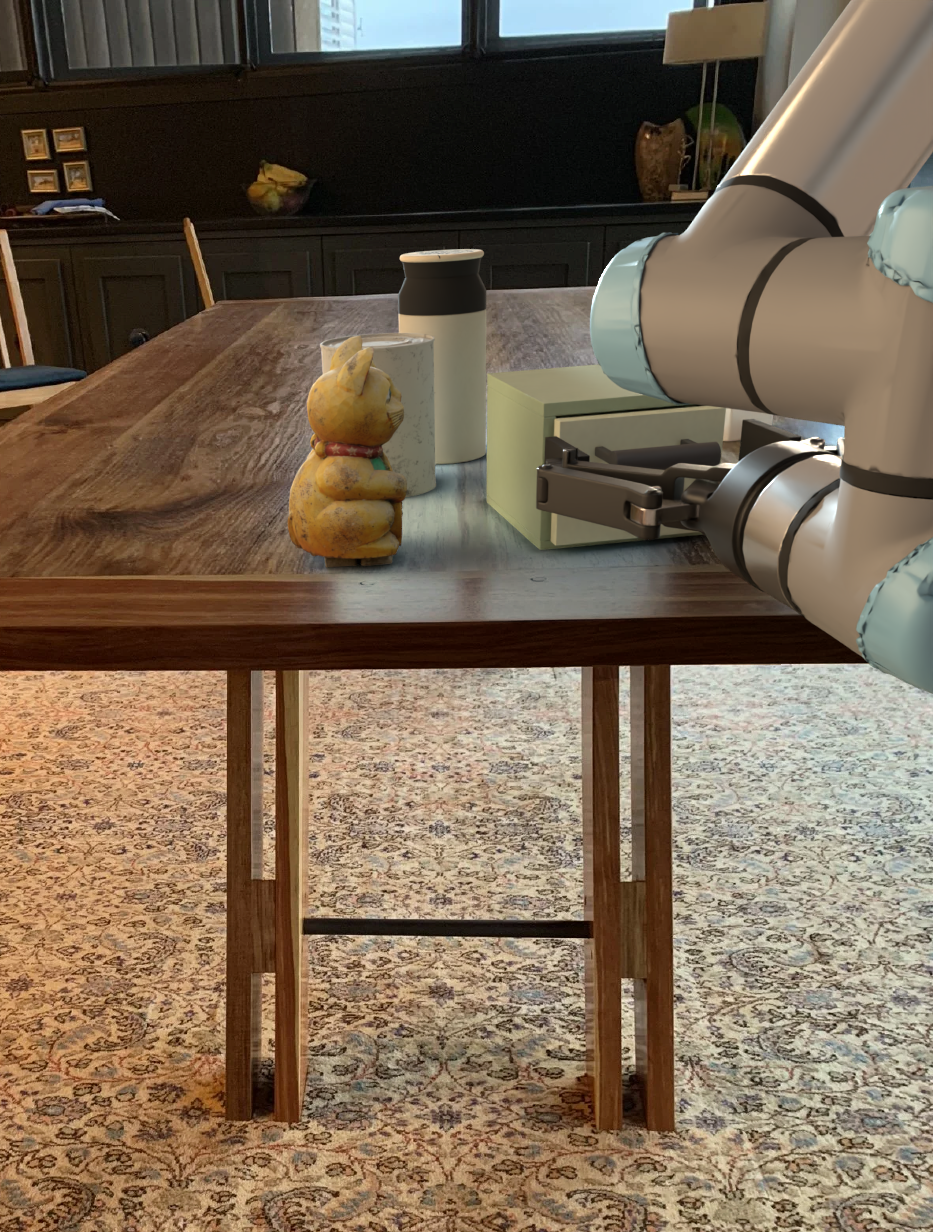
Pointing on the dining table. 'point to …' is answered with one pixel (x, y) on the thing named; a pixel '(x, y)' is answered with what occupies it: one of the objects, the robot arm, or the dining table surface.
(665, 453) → the drawer
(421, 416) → the white can
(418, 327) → the travel mug
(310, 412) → the decorative figurine
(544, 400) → the cabinet
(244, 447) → the dining table surface
